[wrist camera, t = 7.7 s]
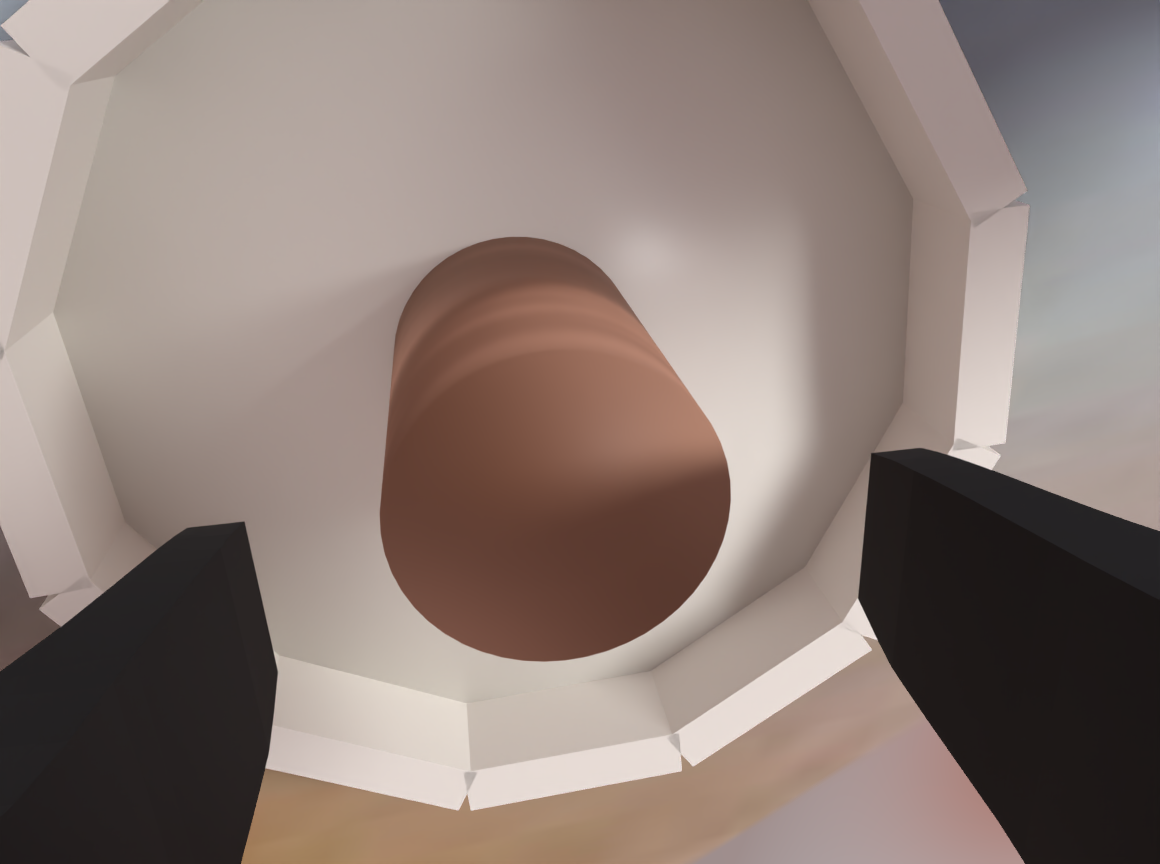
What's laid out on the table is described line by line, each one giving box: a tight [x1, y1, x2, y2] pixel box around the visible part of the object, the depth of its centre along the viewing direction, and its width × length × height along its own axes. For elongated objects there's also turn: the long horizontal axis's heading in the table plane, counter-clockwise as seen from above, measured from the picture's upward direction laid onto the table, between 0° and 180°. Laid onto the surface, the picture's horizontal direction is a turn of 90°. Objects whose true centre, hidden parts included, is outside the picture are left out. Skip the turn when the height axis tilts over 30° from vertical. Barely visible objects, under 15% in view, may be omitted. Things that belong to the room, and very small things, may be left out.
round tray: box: [0, 0, 1030, 811], centre depth 17 cm, size 17×17×3 cm
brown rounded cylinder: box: [380, 237, 731, 662], centre depth 14 cm, size 4×4×6 cm
